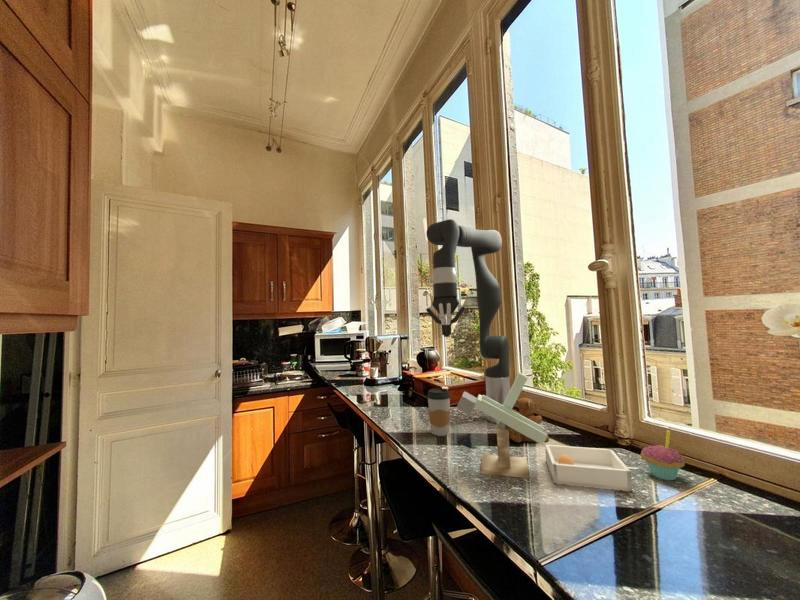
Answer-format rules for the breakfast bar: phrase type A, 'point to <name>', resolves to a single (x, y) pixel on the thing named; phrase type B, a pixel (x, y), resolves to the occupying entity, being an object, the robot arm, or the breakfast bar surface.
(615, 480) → the tub
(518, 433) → the stuffed squirrel
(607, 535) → the breakfast bar surface
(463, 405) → the tilting chute
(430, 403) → the coffee cup
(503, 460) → the fulcrum stand
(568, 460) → the ball
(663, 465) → the cupcake
